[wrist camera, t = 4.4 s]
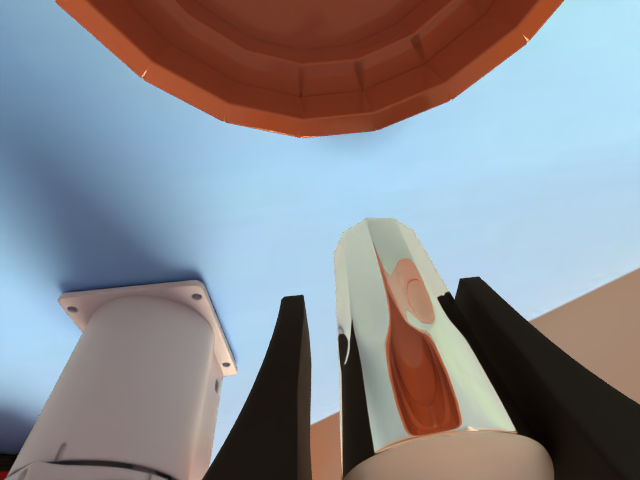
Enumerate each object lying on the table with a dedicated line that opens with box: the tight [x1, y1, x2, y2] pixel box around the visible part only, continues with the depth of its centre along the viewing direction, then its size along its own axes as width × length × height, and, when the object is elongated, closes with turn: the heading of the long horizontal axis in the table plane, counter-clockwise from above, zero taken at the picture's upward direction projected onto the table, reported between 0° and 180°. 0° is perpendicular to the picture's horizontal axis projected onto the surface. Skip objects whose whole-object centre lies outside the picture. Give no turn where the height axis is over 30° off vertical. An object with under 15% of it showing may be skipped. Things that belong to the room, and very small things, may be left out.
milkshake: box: [334, 217, 554, 480], centre depth 10 cm, size 4×5×10 cm
